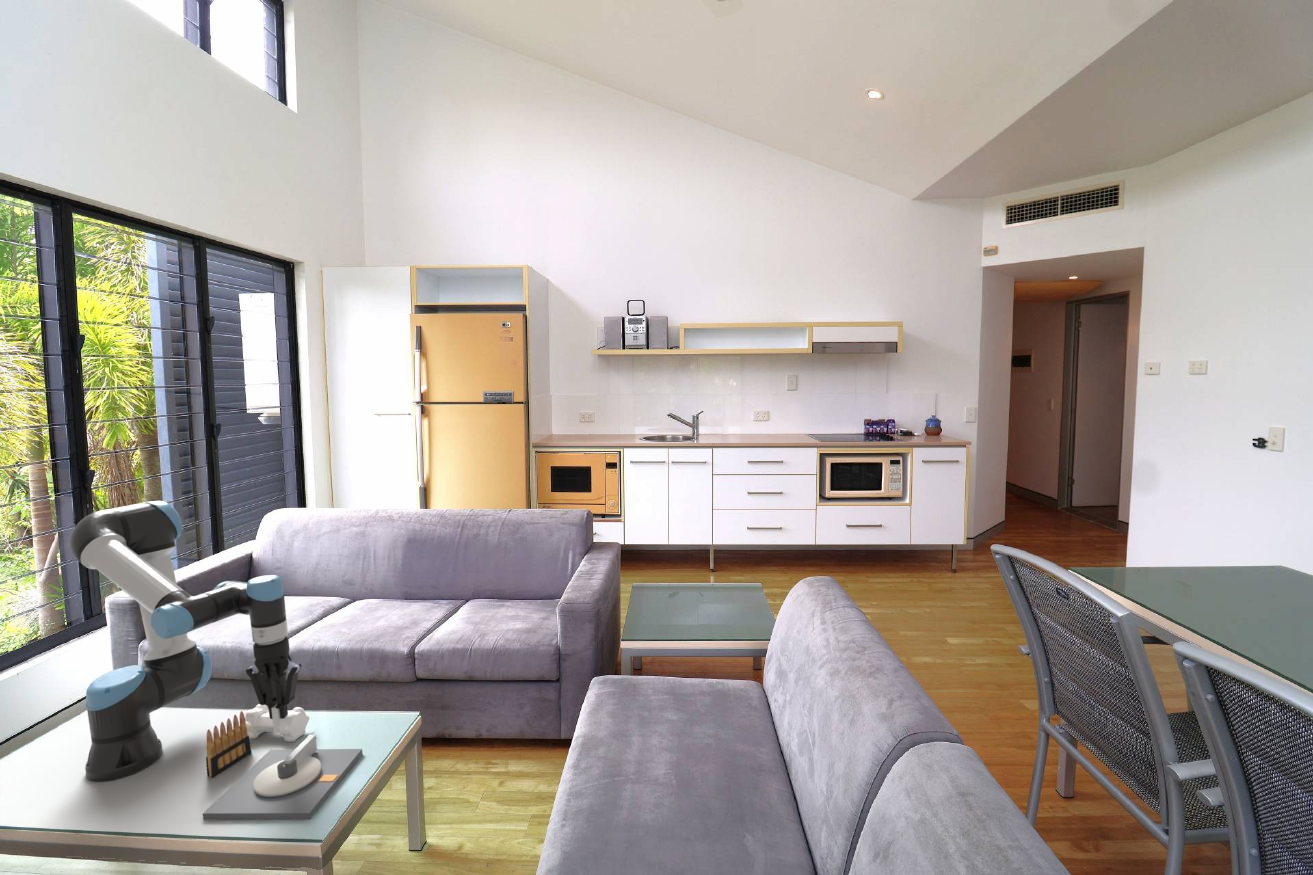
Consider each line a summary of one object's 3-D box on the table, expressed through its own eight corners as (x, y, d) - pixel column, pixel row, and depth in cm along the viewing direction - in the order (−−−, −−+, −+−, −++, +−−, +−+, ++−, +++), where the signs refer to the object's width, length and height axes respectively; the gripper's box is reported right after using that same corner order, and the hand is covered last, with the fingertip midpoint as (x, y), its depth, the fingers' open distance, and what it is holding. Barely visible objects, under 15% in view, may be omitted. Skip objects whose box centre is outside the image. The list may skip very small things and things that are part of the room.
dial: (299, 796, 147) (298, 779, 146) (239, 796, 147) (237, 779, 147) (340, 750, 165) (339, 734, 164) (287, 750, 165) (285, 734, 165)
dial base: (203, 819, 143) (202, 812, 142) (271, 754, 166) (270, 748, 166) (309, 819, 142) (309, 812, 142) (362, 754, 166) (362, 748, 165)
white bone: (311, 732, 178) (311, 703, 178) (287, 747, 169) (287, 716, 169) (264, 728, 181) (264, 699, 181) (238, 742, 172) (238, 712, 172)
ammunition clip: (212, 778, 157) (207, 731, 156) (207, 777, 158) (201, 730, 157) (251, 753, 168) (247, 709, 166) (246, 752, 168) (242, 708, 167)
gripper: (234, 646, 155) (244, 739, 158) (287, 644, 155) (297, 737, 157) (254, 633, 163) (264, 722, 165) (305, 632, 162) (314, 721, 165)
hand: (280, 729), depth 161 cm, fingers closed
